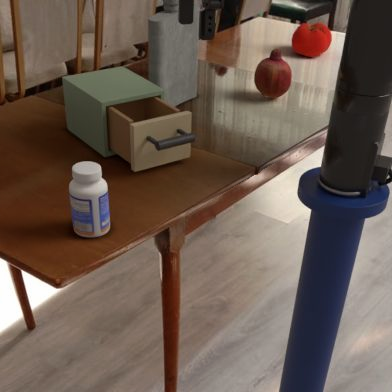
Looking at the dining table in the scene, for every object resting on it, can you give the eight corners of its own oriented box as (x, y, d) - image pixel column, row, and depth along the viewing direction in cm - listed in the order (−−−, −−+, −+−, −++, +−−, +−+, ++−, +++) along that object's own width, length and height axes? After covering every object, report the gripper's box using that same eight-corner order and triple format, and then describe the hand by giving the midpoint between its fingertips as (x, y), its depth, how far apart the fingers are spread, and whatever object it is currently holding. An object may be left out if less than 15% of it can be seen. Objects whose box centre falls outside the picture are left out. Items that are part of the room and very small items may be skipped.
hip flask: (159, 117, 125) (159, 6, 112) (142, 113, 126) (140, 3, 113) (199, 95, 136) (203, -9, 122) (183, 91, 137) (185, -13, 124)
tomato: (287, 56, 158) (290, 28, 154) (294, 45, 166) (298, 18, 162) (325, 61, 156) (330, 33, 152) (331, 49, 164) (336, 22, 160)
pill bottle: (102, 216, 95) (98, 155, 89) (116, 233, 91) (112, 171, 85) (67, 224, 93) (61, 162, 86) (80, 242, 89) (74, 178, 83)
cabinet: (164, 142, 116) (164, 89, 110) (104, 157, 110) (101, 102, 104) (124, 116, 125) (122, 66, 119) (67, 129, 119) (61, 76, 113)
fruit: (272, 89, 140) (278, 41, 133) (296, 100, 135) (303, 51, 129) (244, 95, 136) (248, 46, 130) (268, 107, 132) (273, 57, 125)
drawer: (204, 166, 107) (206, 121, 102) (148, 182, 102) (147, 135, 97) (149, 130, 118) (148, 88, 113) (95, 143, 113) (92, 99, 108)
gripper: (248, -96, 78) (238, 43, 89) (206, -110, 88) (201, 17, 99) (192, -96, 76) (188, 47, 87) (155, -110, 86) (156, 20, 96)
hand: (195, 31), depth 93 cm, fingers open, 8 cm apart
